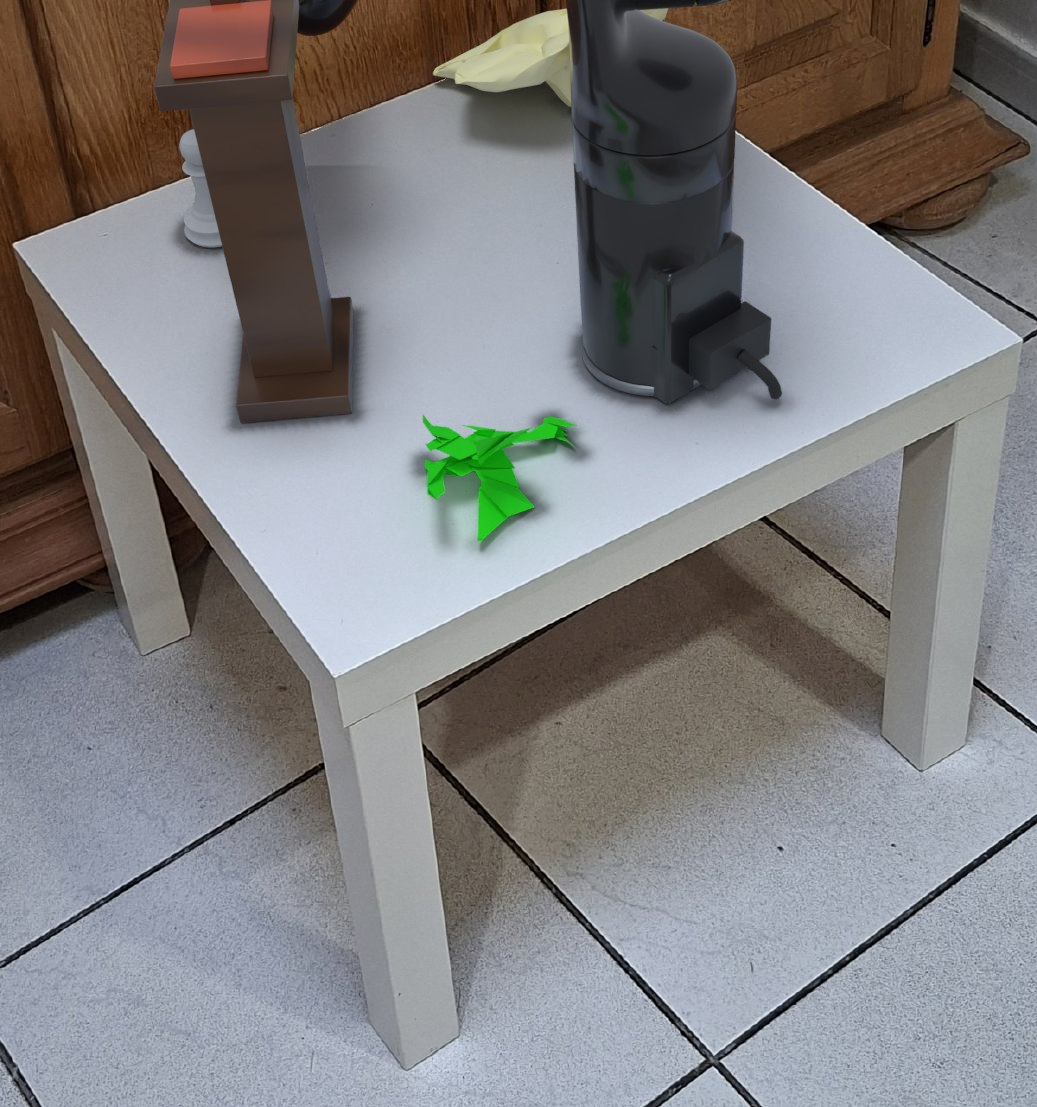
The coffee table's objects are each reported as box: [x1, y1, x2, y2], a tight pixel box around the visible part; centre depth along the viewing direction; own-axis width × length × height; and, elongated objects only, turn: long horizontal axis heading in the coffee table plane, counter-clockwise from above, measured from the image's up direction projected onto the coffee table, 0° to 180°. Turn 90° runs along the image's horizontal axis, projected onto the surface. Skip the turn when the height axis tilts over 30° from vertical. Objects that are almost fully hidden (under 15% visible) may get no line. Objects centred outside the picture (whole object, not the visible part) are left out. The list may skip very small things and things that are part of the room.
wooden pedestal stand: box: [153, 0, 355, 424], centre depth 97 cm, size 10×7×24 cm
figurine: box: [422, 414, 578, 543], centre depth 95 cm, size 6×12×9 cm
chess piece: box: [178, 128, 223, 249], centre depth 113 cm, size 5×5×8 cm
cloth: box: [432, 8, 669, 108], centre depth 123 cm, size 22×19×6 cm
